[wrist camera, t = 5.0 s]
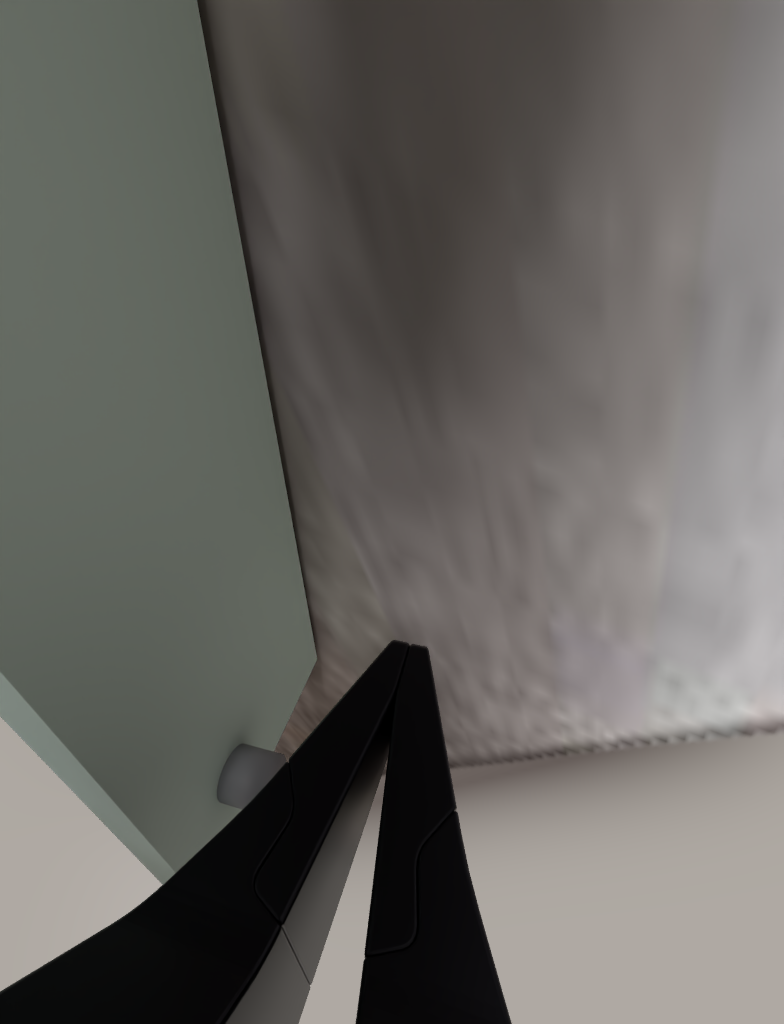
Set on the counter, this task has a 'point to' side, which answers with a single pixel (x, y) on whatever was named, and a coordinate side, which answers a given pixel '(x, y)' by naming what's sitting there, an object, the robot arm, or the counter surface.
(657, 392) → the counter surface
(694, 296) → the counter surface
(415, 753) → the robot arm
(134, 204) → the door
